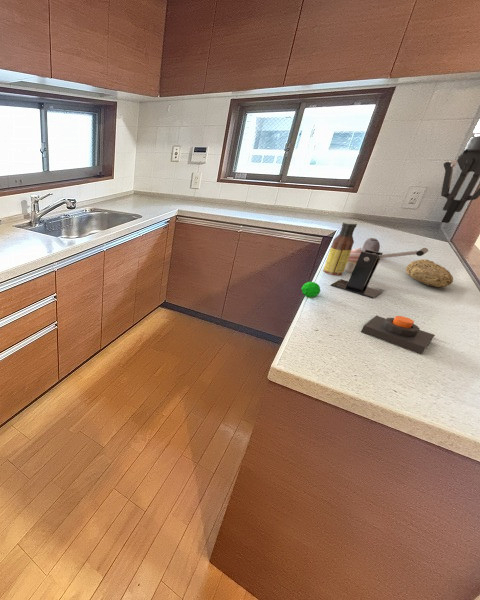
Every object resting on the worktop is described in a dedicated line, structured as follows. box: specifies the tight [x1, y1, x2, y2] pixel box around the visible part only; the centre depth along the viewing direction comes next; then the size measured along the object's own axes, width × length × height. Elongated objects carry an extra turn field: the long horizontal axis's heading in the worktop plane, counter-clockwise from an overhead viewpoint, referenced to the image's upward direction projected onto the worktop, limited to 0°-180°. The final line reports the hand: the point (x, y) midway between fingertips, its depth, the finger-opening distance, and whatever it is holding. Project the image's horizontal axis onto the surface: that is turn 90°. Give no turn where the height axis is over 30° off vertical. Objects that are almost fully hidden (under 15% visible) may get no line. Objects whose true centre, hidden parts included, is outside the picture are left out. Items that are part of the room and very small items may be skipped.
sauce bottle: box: [322, 221, 358, 277], centre depth 120 cm, size 7×6×20 cm
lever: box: [372, 247, 429, 259], centre depth 101 cm, size 14×6×2 cm, turn 36°
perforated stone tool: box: [362, 237, 381, 252], centre depth 145 cm, size 15×5×7 cm, turn 145°
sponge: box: [405, 258, 454, 288], centre depth 119 cm, size 13×8×20 cm
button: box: [392, 315, 415, 328], centre depth 82 cm, size 4×4×2 cm
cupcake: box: [343, 247, 363, 274], centre depth 125 cm, size 9×9×10 cm
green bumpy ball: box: [301, 281, 321, 298], centre depth 105 cm, size 5×5×5 cm
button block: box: [360, 315, 435, 355], centre depth 84 cm, size 12×10×4 cm
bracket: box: [330, 249, 384, 299], centre depth 108 cm, size 12×9×14 cm
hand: (445, 222), depth 99 cm, fingers closed
